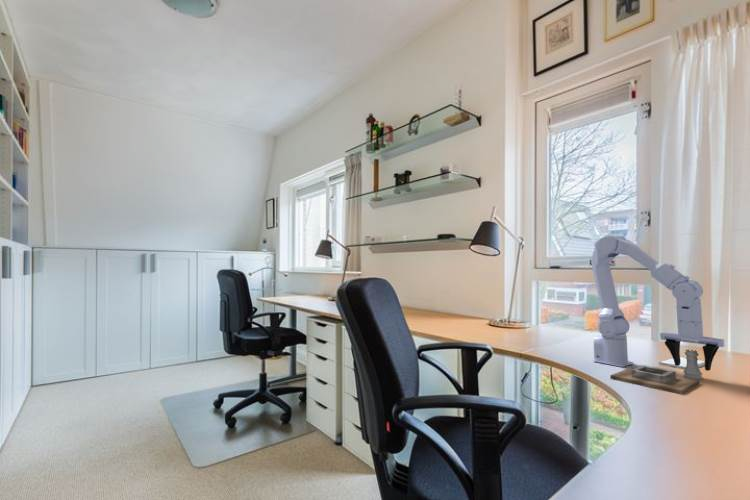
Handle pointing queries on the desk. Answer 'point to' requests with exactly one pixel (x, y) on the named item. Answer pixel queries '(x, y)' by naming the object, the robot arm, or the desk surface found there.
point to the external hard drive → (682, 363)
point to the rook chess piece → (692, 366)
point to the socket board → (656, 379)
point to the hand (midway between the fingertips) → (692, 367)
